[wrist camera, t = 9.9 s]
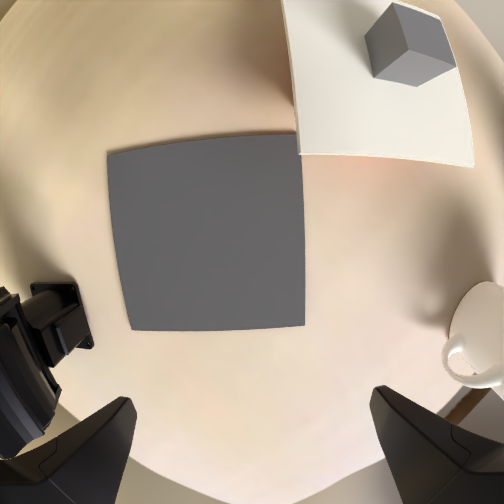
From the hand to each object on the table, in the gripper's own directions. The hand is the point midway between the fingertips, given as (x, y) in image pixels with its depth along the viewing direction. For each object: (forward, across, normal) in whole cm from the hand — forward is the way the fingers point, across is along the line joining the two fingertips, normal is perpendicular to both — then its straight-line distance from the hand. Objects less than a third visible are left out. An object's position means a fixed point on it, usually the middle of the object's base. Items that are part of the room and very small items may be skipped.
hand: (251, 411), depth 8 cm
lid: (+7, -9, -15) cm, 19 cm away
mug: (+12, -22, +6) cm, 26 cm away
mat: (+12, +3, -4) cm, 13 cm away
